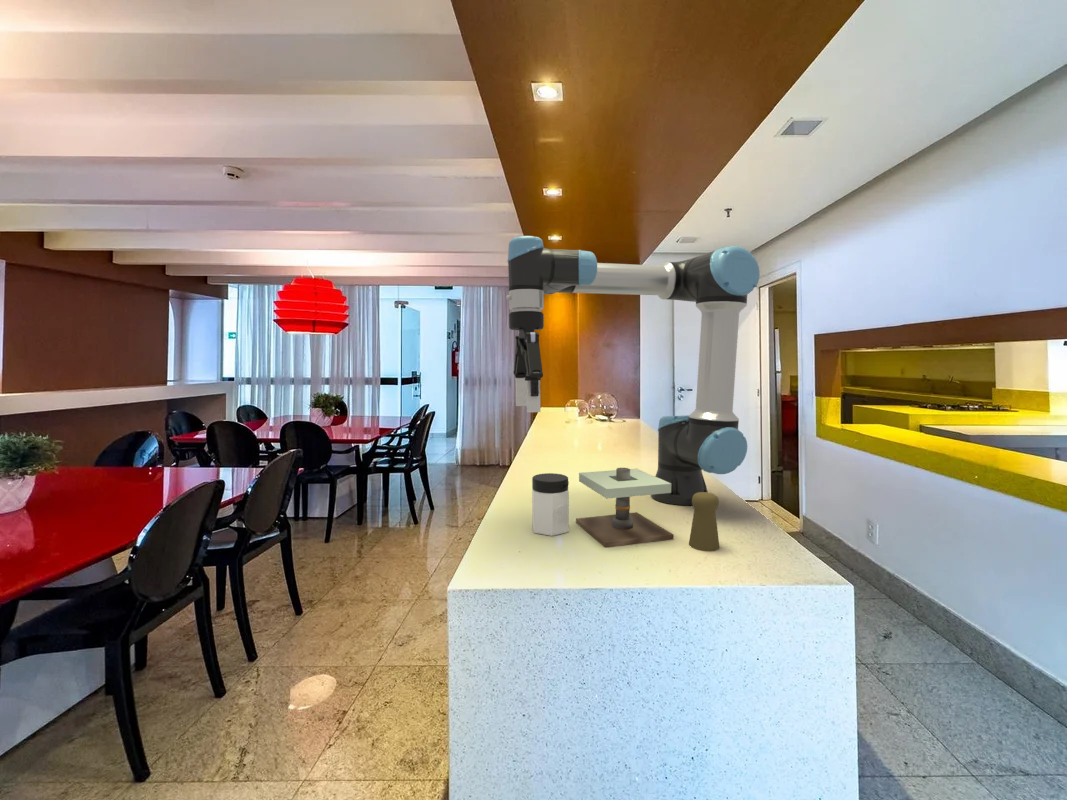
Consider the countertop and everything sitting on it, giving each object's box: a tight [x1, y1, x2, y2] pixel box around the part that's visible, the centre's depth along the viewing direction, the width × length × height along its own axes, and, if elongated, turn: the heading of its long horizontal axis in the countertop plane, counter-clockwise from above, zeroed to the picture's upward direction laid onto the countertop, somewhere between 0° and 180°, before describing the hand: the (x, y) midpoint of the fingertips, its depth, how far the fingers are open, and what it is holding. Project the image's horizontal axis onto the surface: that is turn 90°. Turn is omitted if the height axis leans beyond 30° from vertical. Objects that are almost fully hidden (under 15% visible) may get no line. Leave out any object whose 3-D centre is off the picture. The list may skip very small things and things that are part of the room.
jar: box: [531, 472, 570, 537], centre depth 111 cm, size 9×8×12 cm
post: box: [575, 467, 674, 548], centre depth 110 cm, size 16×16×14 cm
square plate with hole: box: [578, 468, 671, 500], centre depth 110 cm, size 15×15×2 cm
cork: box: [688, 491, 720, 552], centre depth 101 cm, size 6×6×11 cm
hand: (527, 409), depth 109 cm, fingers open, 13 cm apart
